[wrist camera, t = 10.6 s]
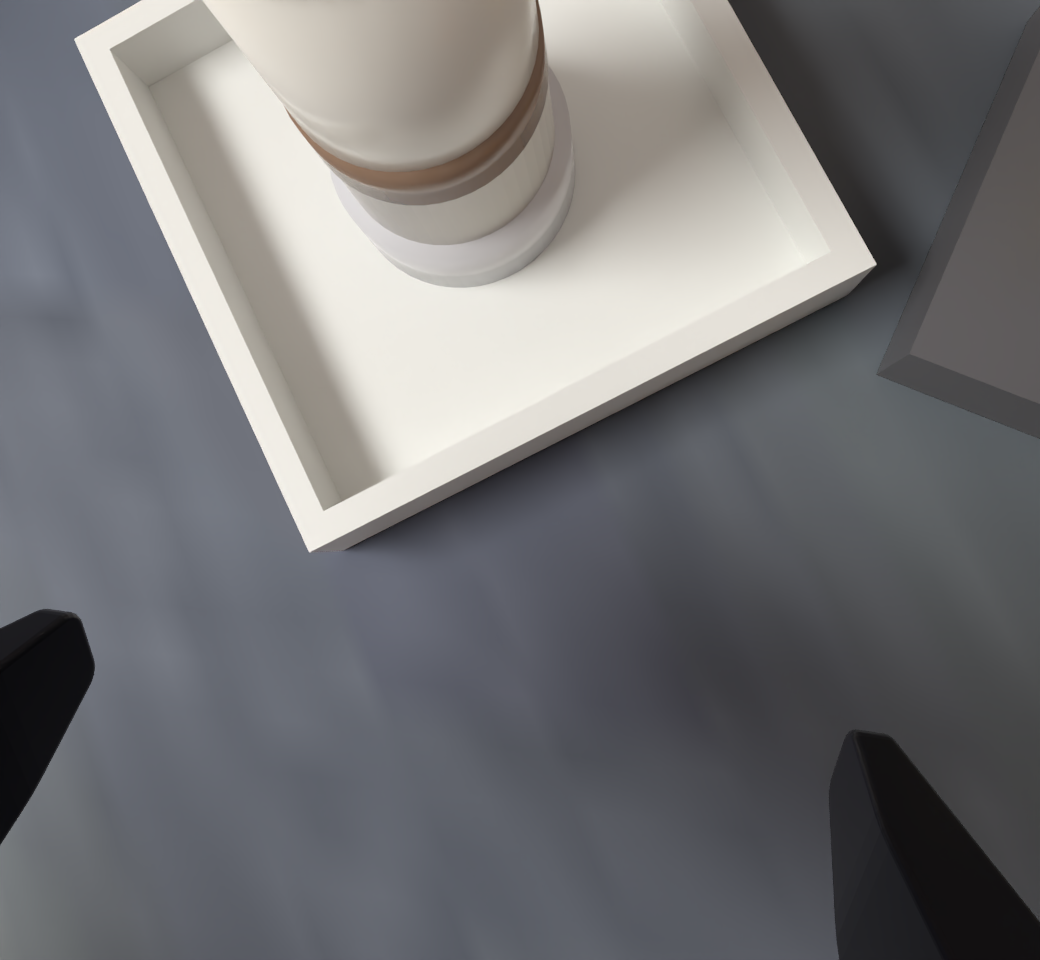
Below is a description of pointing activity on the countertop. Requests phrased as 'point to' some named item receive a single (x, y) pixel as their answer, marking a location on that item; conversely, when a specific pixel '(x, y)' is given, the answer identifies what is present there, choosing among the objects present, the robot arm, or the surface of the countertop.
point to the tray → (492, 307)
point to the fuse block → (985, 269)
